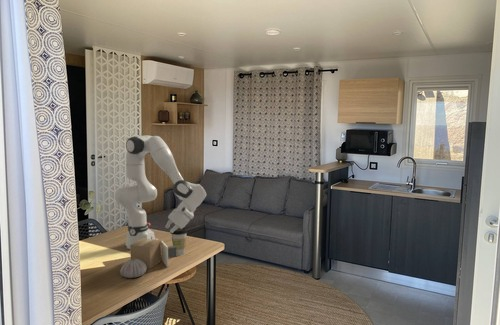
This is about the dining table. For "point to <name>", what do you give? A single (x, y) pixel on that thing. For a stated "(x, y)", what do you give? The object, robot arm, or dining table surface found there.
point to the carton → (146, 251)
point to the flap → (167, 252)
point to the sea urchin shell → (133, 268)
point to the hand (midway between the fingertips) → (168, 229)
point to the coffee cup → (179, 240)
